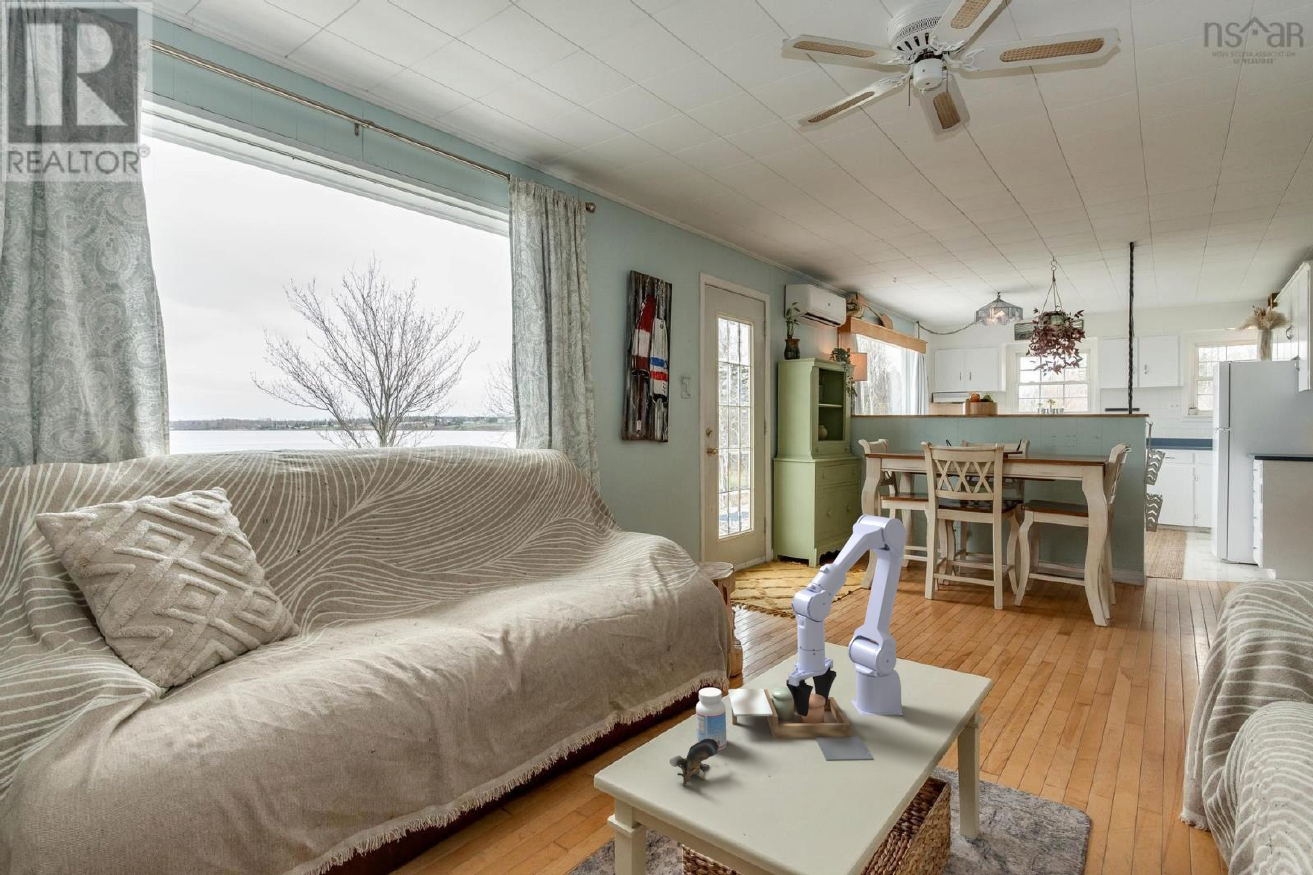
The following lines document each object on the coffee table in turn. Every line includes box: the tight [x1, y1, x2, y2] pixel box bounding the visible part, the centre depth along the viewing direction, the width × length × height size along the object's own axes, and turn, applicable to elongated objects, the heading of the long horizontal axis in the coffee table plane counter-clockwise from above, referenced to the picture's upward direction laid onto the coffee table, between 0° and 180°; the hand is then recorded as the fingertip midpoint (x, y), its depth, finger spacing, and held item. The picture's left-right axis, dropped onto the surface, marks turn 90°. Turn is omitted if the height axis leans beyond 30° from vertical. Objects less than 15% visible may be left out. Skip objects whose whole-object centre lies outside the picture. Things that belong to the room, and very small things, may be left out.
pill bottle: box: [695, 687, 727, 752], centre depth 132 cm, size 6×6×11 cm
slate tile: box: [814, 735, 874, 762], centre depth 128 cm, size 9×9×1 cm
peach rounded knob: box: [801, 692, 825, 723], centre depth 139 cm, size 5×5×6 cm
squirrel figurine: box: [669, 739, 719, 787], centre depth 121 cm, size 8×7×9 cm
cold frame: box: [727, 688, 852, 739], centre depth 140 cm, size 24×14×5 cm, turn 89°
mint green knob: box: [771, 686, 794, 720], centre depth 143 cm, size 5×5×6 cm
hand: (812, 709), depth 139 cm, fingers open, 7 cm apart
